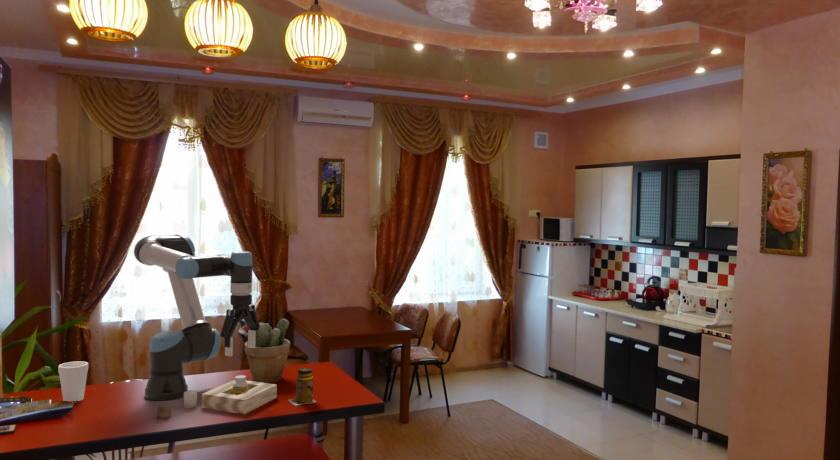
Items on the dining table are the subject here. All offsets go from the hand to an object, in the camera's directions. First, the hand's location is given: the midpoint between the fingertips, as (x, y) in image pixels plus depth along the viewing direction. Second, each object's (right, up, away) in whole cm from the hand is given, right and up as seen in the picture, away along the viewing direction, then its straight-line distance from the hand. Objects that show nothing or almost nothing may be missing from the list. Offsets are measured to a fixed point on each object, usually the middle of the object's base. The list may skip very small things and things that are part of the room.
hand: (240, 351), depth 221 cm
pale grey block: (-17, -19, -4) cm, 25 cm away
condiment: (+22, -19, +3) cm, 29 cm away
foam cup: (-61, -18, 0) cm, 63 cm away
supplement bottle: (0, -19, +1) cm, 19 cm away
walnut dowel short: (-21, -19, -17) cm, 33 cm away
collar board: (0, -19, 0) cm, 19 cm away
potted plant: (+2, -18, +30) cm, 35 cm away
